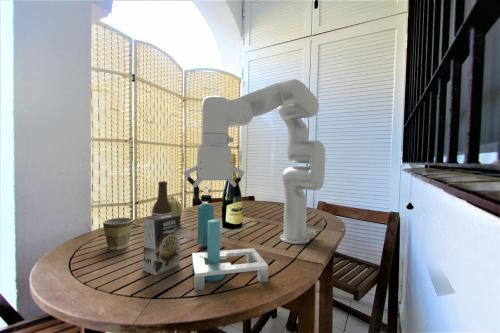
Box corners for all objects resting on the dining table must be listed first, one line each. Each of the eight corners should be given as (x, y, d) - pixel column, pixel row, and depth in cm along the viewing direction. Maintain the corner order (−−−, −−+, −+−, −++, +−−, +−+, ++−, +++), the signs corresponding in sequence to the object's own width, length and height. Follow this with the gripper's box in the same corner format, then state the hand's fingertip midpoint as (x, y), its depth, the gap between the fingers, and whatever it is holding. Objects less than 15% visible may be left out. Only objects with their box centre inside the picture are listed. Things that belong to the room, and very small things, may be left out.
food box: (156, 276, 70) (156, 220, 70) (142, 270, 74) (143, 217, 73) (180, 265, 78) (181, 214, 78) (167, 260, 82) (167, 212, 81)
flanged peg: (222, 269, 76) (223, 217, 75) (226, 279, 69) (227, 223, 69) (200, 271, 74) (201, 218, 73) (202, 282, 67) (203, 224, 67)
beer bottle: (148, 238, 103) (148, 181, 103) (161, 233, 110) (162, 180, 110) (162, 241, 100) (163, 182, 100) (175, 236, 107) (176, 181, 107)
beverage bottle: (210, 250, 92) (211, 196, 91) (194, 248, 93) (195, 195, 93) (216, 244, 98) (217, 194, 98) (201, 242, 99) (201, 193, 99)
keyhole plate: (253, 261, 82) (253, 248, 82) (267, 281, 69) (268, 265, 69) (192, 267, 77) (192, 253, 76) (194, 290, 63) (195, 273, 63)
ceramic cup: (137, 246, 93) (137, 220, 93) (108, 253, 86) (108, 225, 86) (124, 239, 102) (124, 215, 102) (96, 244, 95) (96, 219, 95)
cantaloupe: (153, 222, 129) (153, 194, 129) (182, 221, 133) (182, 193, 132) (148, 230, 115) (149, 198, 114) (181, 229, 118) (181, 198, 118)
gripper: (241, 142, 76) (240, 197, 77) (183, 140, 72) (183, 199, 72) (247, 141, 69) (246, 201, 70) (184, 138, 64) (183, 203, 65)
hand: (214, 200), depth 71 cm, fingers open, 9 cm apart
